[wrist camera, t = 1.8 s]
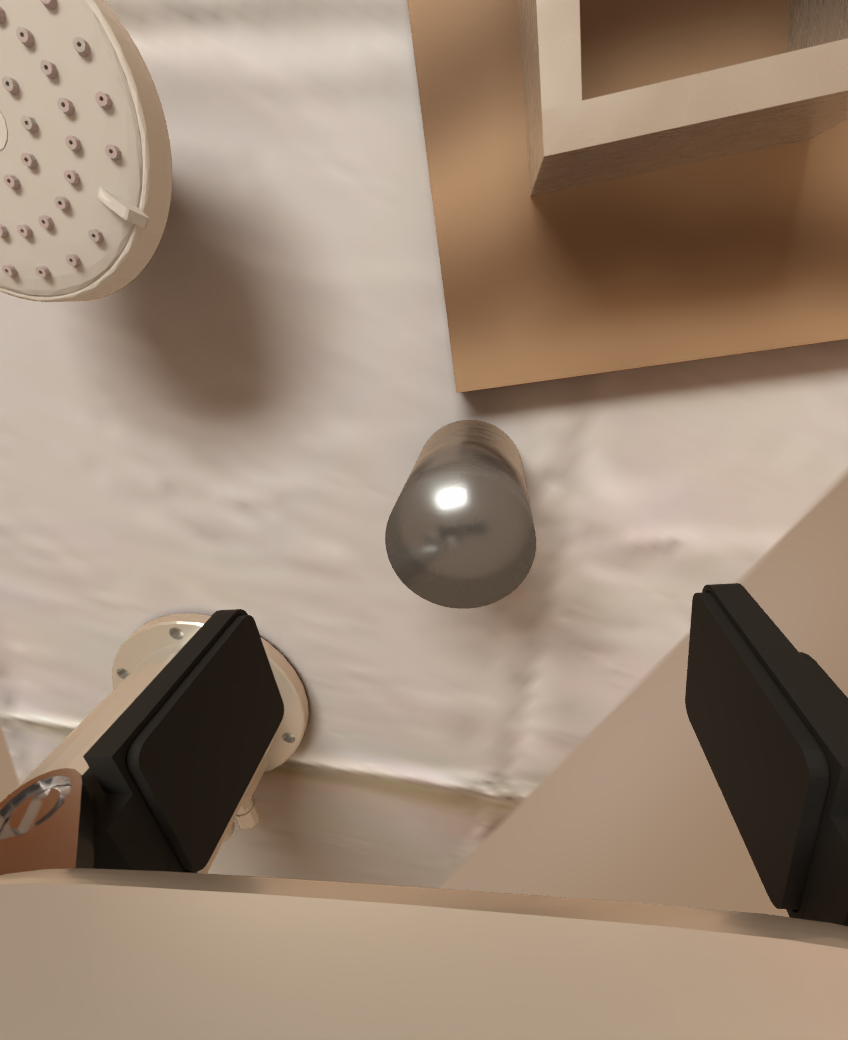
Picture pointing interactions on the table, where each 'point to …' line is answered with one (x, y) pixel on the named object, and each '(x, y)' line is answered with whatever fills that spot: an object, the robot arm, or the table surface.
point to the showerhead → (77, 152)
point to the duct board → (634, 179)
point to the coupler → (463, 519)
